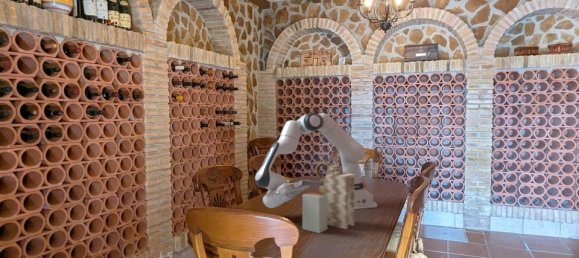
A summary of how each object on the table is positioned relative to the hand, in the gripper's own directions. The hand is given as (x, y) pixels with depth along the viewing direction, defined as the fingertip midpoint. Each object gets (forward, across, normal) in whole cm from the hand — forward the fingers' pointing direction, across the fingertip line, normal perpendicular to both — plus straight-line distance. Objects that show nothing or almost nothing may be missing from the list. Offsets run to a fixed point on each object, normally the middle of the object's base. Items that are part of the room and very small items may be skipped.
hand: (305, 181), depth 178 cm
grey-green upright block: (-6, 0, +23) cm, 24 cm away
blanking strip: (+2, 0, +3) cm, 4 cm away
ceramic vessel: (-27, +53, +11) cm, 61 cm away
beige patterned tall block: (-1, +14, +26) cm, 29 cm away
